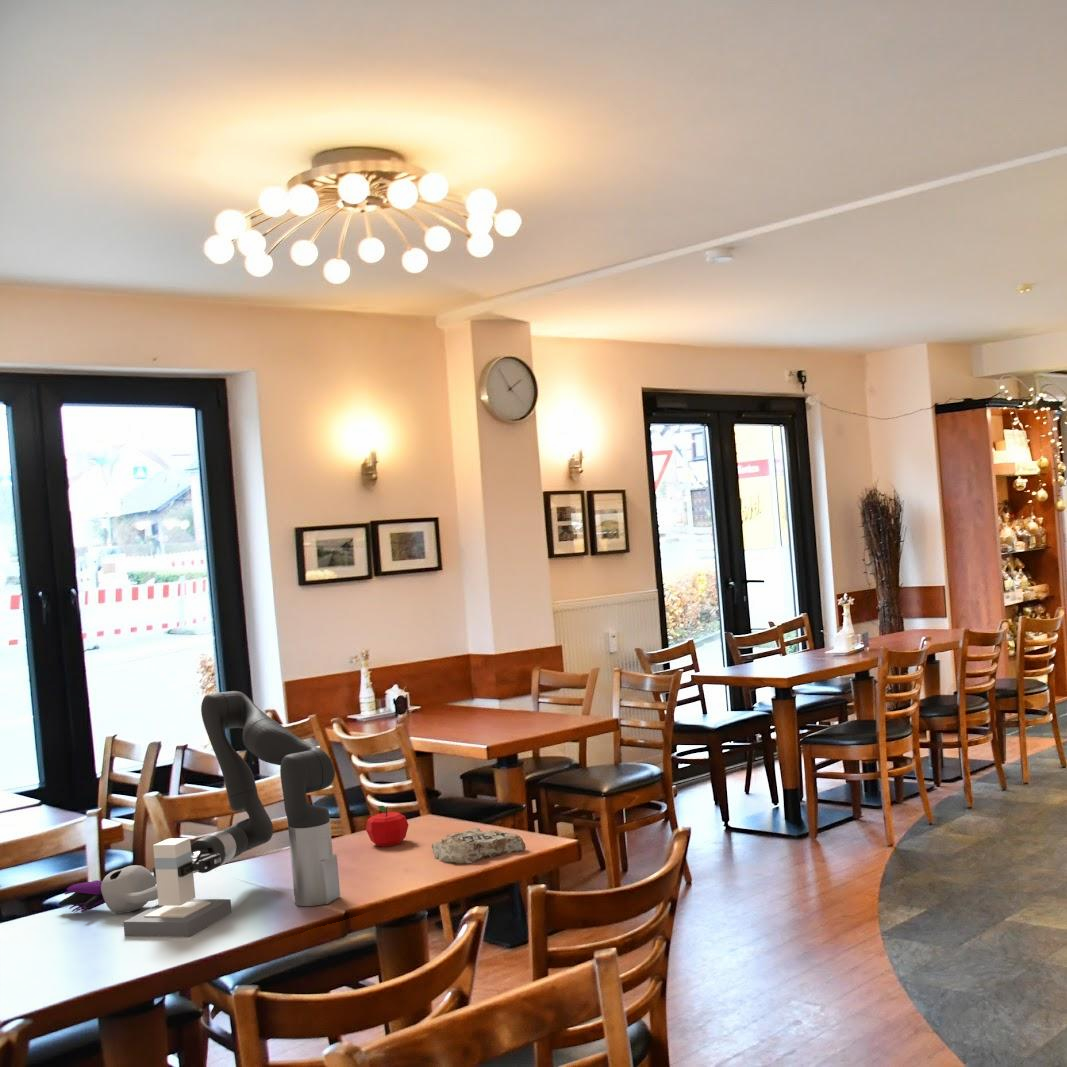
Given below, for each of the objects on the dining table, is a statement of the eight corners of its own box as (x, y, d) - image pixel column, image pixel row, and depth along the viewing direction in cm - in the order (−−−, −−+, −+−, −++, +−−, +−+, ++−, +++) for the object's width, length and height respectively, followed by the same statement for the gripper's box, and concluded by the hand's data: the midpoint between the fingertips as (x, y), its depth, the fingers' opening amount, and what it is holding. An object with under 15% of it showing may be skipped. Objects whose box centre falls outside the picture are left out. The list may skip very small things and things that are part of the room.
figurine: (74, 872, 285) (185, 846, 279) (85, 911, 286) (197, 886, 280) (34, 897, 270) (151, 869, 264) (46, 938, 270) (163, 912, 264)
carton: (195, 897, 261) (190, 838, 261) (180, 905, 256) (174, 844, 256) (174, 897, 263) (168, 838, 263) (158, 905, 258) (152, 845, 258)
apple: (417, 840, 317) (413, 803, 317) (385, 850, 309) (382, 811, 310) (391, 837, 324) (388, 800, 325) (360, 846, 317) (356, 808, 317)
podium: (231, 912, 264) (230, 897, 264) (188, 936, 249) (187, 921, 249) (170, 912, 269) (169, 897, 269) (124, 935, 254) (123, 920, 254)
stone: (460, 847, 285) (407, 830, 305) (462, 871, 285) (409, 853, 305) (526, 831, 296) (470, 816, 316) (527, 854, 296) (472, 838, 316)
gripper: (183, 835, 275) (137, 855, 259) (237, 834, 271) (194, 854, 255) (186, 867, 275) (140, 889, 259) (240, 867, 271) (197, 890, 255)
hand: (167, 872), depth 257 cm, fingers closed on carton, 5 cm apart
